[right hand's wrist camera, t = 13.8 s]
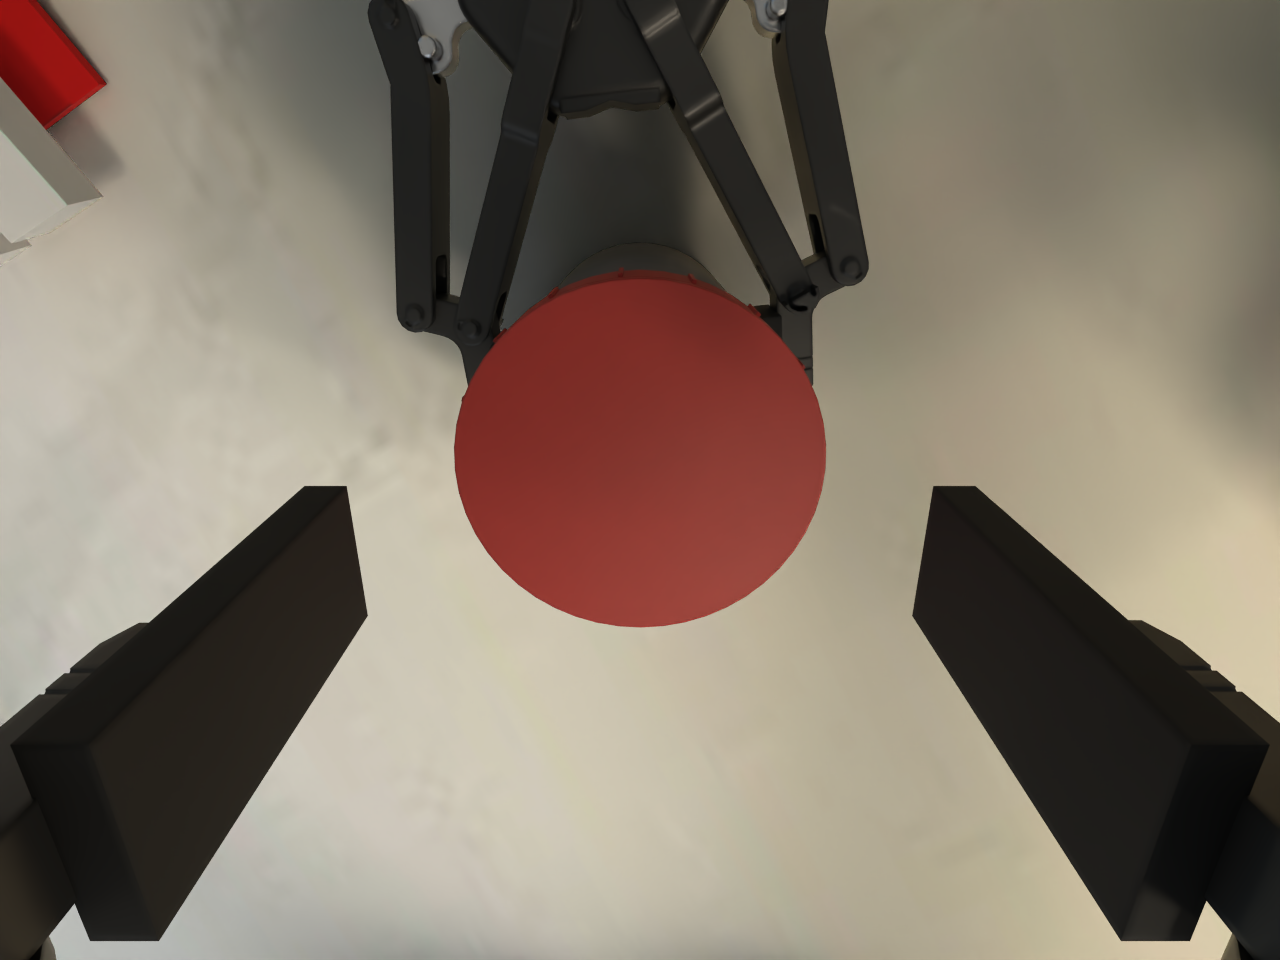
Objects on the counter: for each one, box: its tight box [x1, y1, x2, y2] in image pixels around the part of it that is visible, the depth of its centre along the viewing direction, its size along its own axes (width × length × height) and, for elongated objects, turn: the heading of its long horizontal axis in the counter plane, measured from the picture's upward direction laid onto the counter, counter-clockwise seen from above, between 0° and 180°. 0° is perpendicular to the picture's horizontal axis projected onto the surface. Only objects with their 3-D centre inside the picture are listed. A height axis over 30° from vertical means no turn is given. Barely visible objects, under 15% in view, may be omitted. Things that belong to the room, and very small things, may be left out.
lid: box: [454, 267, 826, 627], centre depth 18 cm, size 9×9×2 cm
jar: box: [558, 243, 726, 292], centre depth 25 cm, size 8×8×15 cm
